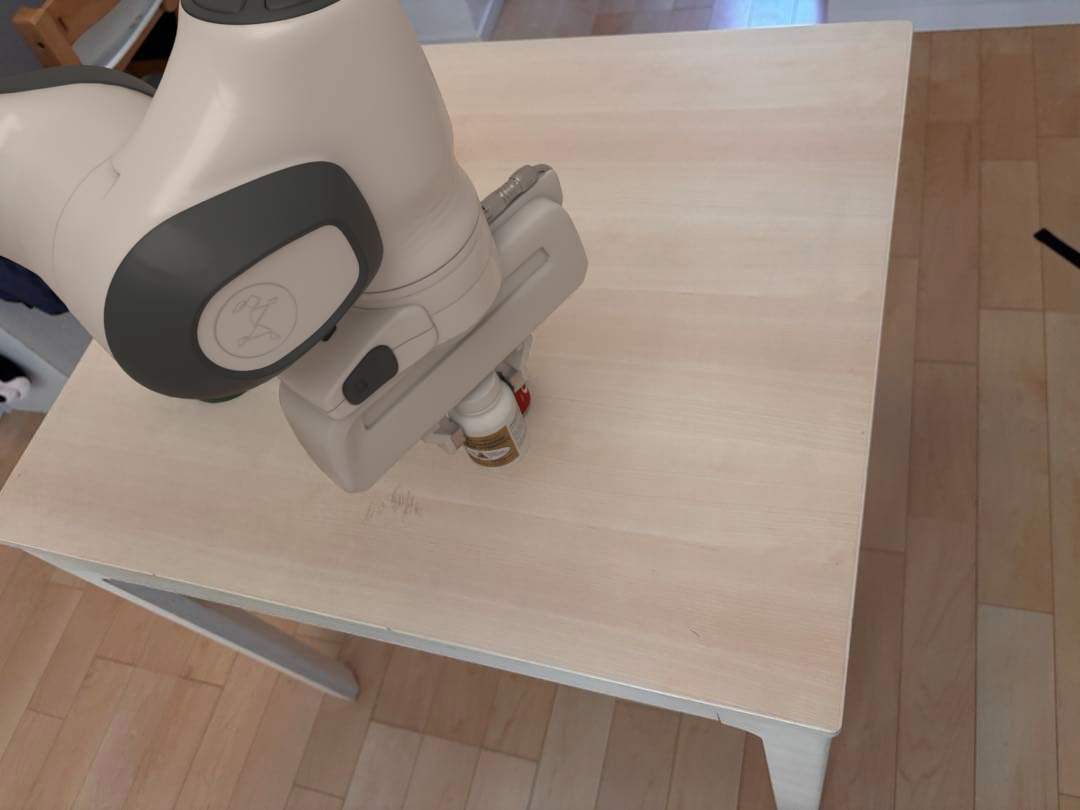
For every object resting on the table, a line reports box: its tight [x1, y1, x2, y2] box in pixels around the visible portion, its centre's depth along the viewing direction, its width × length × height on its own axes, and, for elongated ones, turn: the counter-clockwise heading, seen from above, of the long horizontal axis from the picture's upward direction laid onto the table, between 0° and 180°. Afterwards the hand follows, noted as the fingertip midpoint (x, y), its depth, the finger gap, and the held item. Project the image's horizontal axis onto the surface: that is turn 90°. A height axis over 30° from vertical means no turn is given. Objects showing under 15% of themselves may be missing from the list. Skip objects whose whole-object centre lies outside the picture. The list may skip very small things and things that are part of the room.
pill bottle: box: [447, 369, 531, 472], centre depth 56 cm, size 4×4×8 cm
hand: (483, 412), depth 56 cm, fingers closed on pill bottle, 4 cm apart
